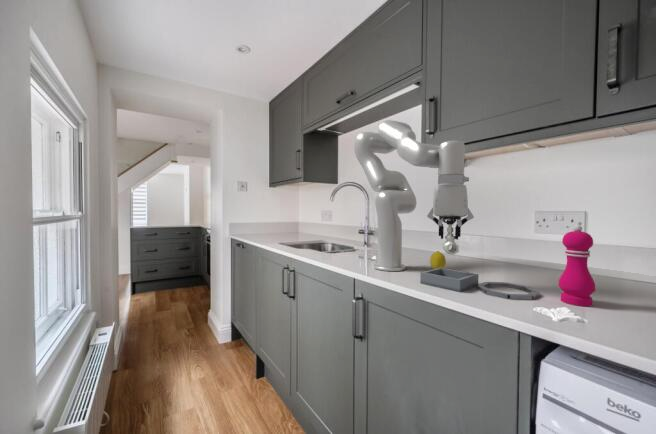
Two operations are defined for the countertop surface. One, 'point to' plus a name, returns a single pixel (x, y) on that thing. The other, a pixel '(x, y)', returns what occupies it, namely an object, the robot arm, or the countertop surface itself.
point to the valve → (450, 235)
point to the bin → (449, 279)
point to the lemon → (437, 260)
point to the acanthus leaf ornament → (560, 314)
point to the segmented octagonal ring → (483, 288)
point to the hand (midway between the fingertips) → (449, 238)
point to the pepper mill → (577, 269)
